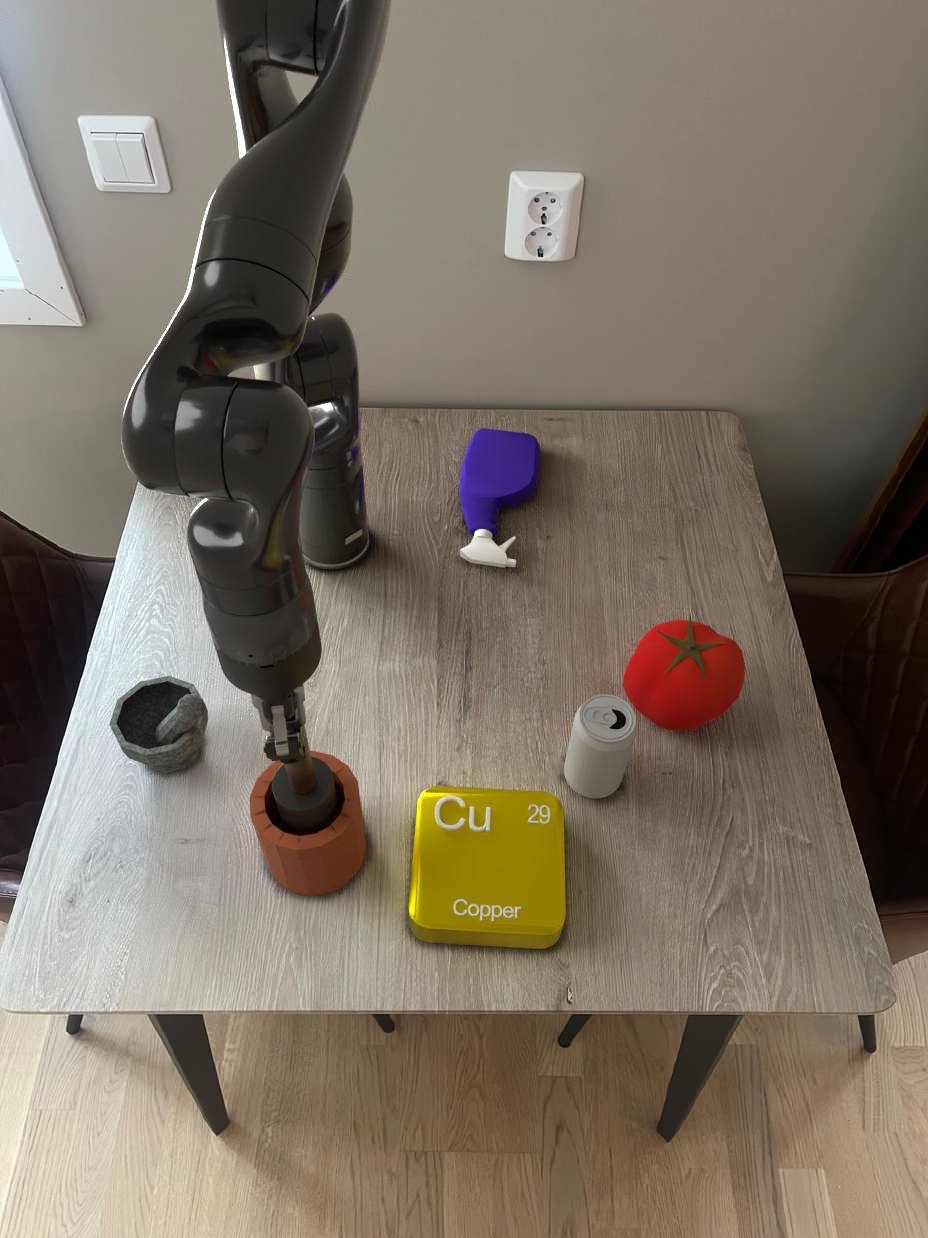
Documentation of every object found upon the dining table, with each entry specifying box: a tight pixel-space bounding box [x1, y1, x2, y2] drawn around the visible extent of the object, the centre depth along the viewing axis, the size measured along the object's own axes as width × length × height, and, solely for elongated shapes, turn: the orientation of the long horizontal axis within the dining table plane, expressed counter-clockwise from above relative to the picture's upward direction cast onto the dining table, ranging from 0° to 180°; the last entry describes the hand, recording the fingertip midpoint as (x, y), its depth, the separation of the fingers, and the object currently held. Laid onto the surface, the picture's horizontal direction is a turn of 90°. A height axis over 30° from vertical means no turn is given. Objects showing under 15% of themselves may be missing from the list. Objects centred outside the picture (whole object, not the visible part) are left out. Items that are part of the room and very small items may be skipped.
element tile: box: [407, 785, 567, 950], centre depth 92 cm, size 15×15×5 cm
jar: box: [249, 750, 367, 897], centre depth 91 cm, size 10×10×11 cm
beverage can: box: [563, 693, 638, 799], centre depth 97 cm, size 6×6×12 cm
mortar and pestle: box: [108, 675, 209, 774], centre depth 98 cm, size 11×9×12 cm
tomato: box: [622, 612, 746, 732], centre depth 103 cm, size 12×13×12 cm
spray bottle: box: [458, 427, 542, 568], centre depth 127 cm, size 3×11×24 cm
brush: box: [272, 724, 337, 830], centre depth 82 cm, size 6×6×16 cm
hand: (292, 743), depth 79 cm, fingers closed on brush, 2 cm apart
